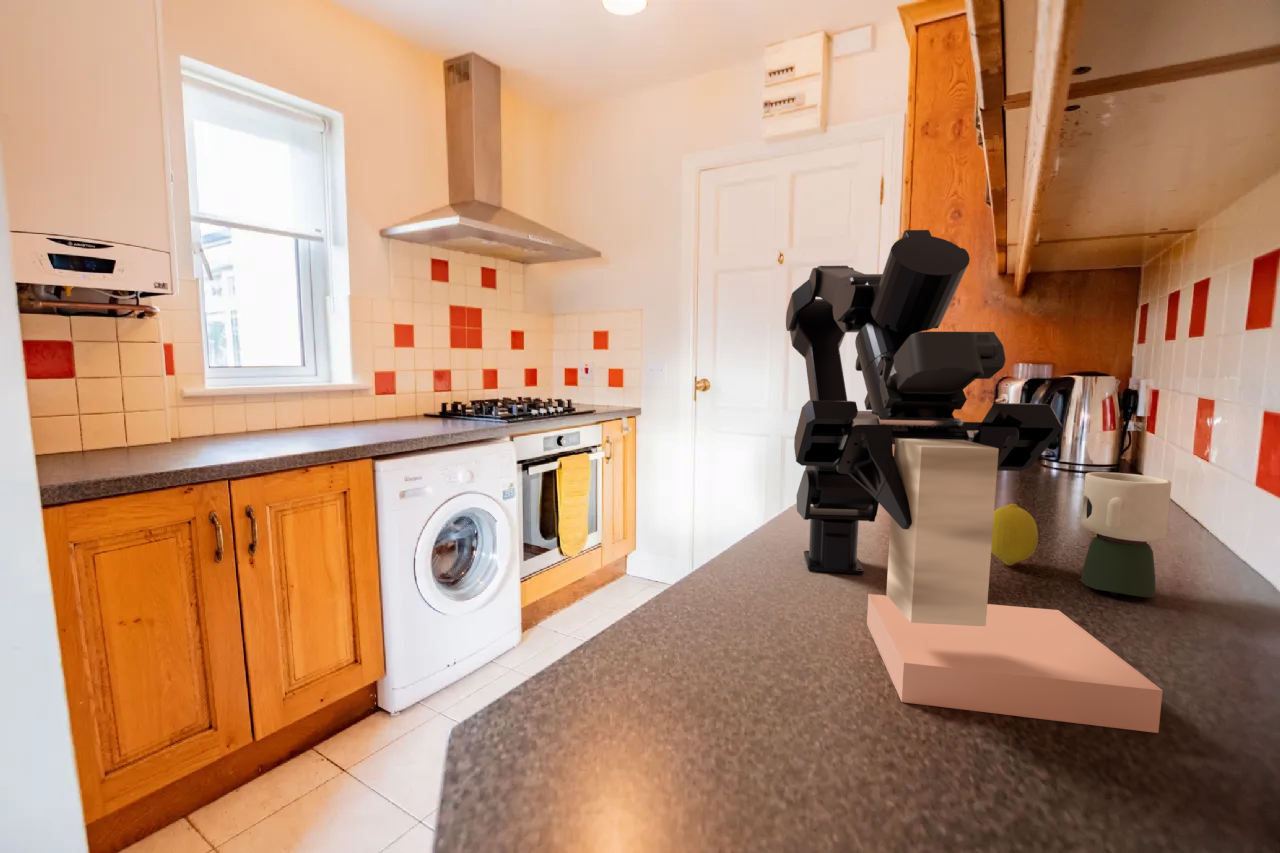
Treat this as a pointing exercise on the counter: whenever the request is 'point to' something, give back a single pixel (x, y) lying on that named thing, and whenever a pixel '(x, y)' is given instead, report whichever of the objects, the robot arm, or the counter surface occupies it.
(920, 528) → the birch block
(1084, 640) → the terracotta stand
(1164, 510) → the character mug
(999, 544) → the lemon
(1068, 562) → the counter surface
